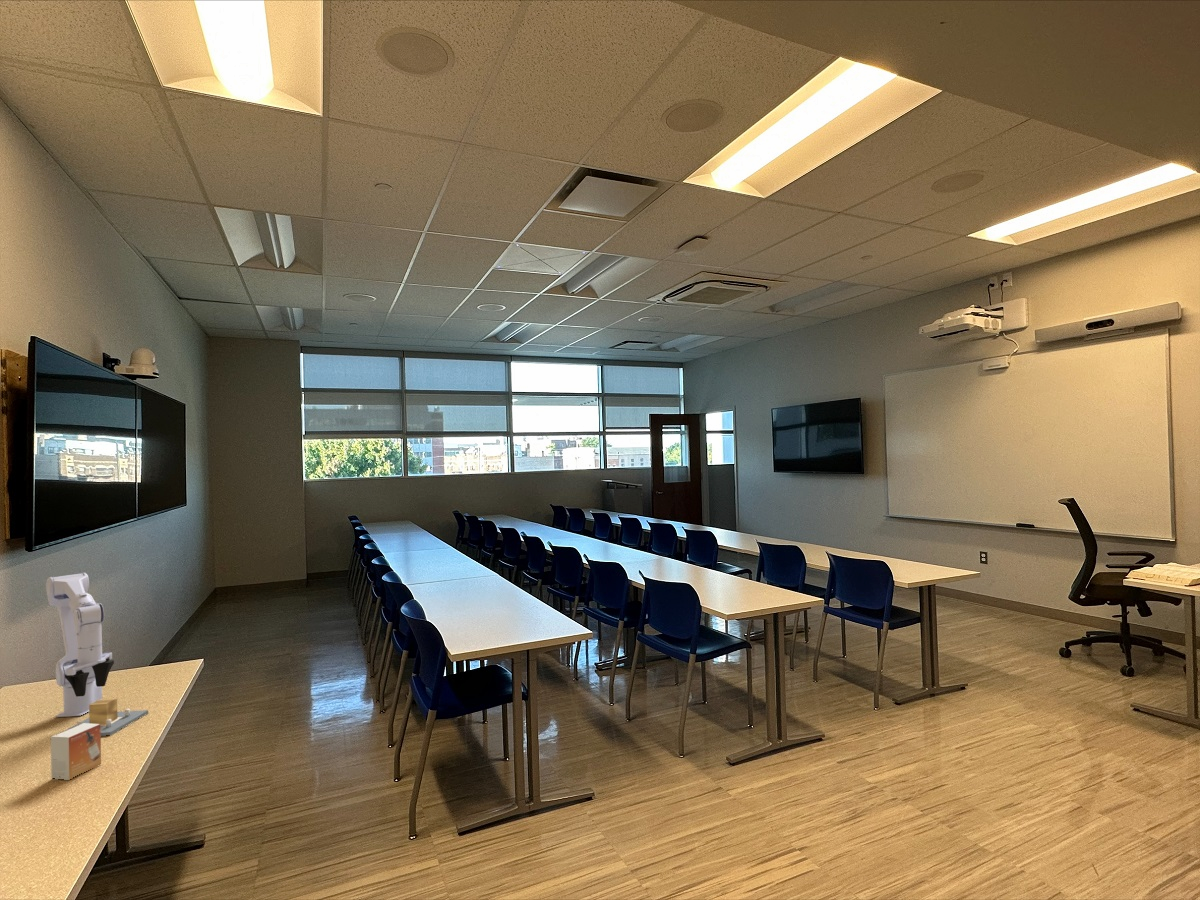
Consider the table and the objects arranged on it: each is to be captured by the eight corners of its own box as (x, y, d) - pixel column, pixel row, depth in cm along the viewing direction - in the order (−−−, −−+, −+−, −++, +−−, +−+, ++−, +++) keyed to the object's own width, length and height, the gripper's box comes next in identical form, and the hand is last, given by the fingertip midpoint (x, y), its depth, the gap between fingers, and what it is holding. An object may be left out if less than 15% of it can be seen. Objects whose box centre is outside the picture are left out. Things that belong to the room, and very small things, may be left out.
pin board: (98, 716, 184) (98, 706, 184) (148, 713, 185) (148, 703, 185) (56, 738, 169) (55, 728, 169) (110, 735, 170) (110, 725, 170)
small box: (68, 781, 145) (67, 737, 145) (50, 779, 146) (49, 736, 146) (102, 764, 153) (101, 723, 153) (84, 763, 154) (83, 722, 154)
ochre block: (100, 719, 179) (99, 699, 179) (117, 718, 179) (117, 698, 179) (89, 725, 175) (89, 704, 175) (107, 724, 175) (106, 703, 175)
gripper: (83, 652, 173) (84, 699, 173) (121, 637, 187) (122, 681, 187) (58, 654, 173) (59, 701, 172) (98, 639, 187) (99, 682, 187)
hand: (90, 690), depth 180 cm, fingers open, 7 cm apart
